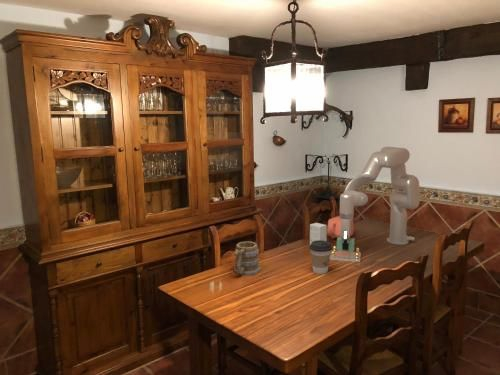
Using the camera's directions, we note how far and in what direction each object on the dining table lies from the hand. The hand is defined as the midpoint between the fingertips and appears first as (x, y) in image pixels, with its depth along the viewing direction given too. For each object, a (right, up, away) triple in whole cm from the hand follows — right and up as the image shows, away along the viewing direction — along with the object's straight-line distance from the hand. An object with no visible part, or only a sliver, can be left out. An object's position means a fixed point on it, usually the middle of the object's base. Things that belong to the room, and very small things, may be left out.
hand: (345, 247), depth 231 cm
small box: (-12, -2, +21) cm, 24 cm away
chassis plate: (0, -5, +1) cm, 5 cm away
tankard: (-56, -10, -19) cm, 60 cm away
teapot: (+5, +1, +36) cm, 36 cm away
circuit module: (0, -1, 0) cm, 1 cm away
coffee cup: (-17, -10, -18) cm, 27 cm away
